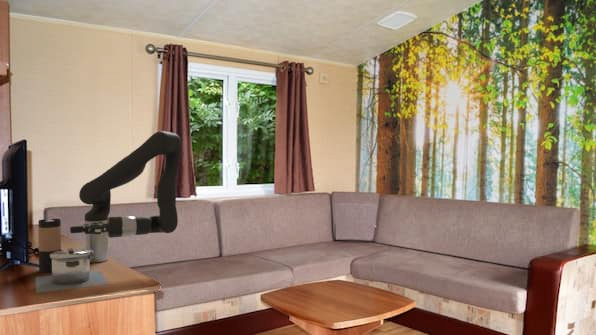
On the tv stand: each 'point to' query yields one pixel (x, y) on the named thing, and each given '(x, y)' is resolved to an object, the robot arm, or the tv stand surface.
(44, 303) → the tv stand surface
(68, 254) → the lid
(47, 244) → the travel mug
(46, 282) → the mat
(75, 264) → the pot
